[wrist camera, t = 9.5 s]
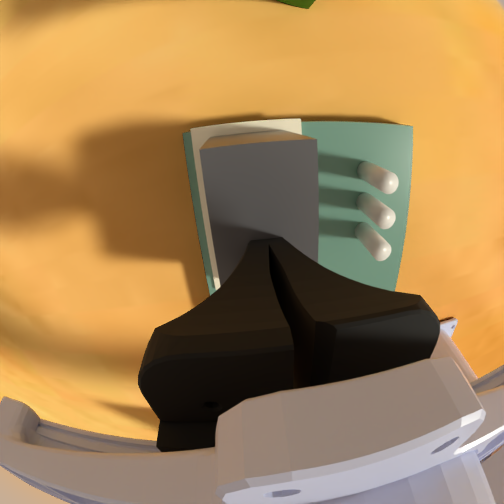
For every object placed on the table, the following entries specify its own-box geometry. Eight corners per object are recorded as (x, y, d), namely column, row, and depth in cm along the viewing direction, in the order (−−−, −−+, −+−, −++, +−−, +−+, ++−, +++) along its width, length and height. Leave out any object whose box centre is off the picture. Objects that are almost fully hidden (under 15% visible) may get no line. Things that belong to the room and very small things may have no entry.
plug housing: (290, 272, 18) (314, 335, 13) (229, 279, 18) (232, 347, 13) (283, 129, 14) (316, 139, 9) (209, 136, 14) (199, 149, 9)
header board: (381, 304, 23) (403, 339, 19) (220, 325, 22) (218, 368, 19) (400, 121, 16) (441, 128, 12) (186, 128, 15) (169, 133, 11)
